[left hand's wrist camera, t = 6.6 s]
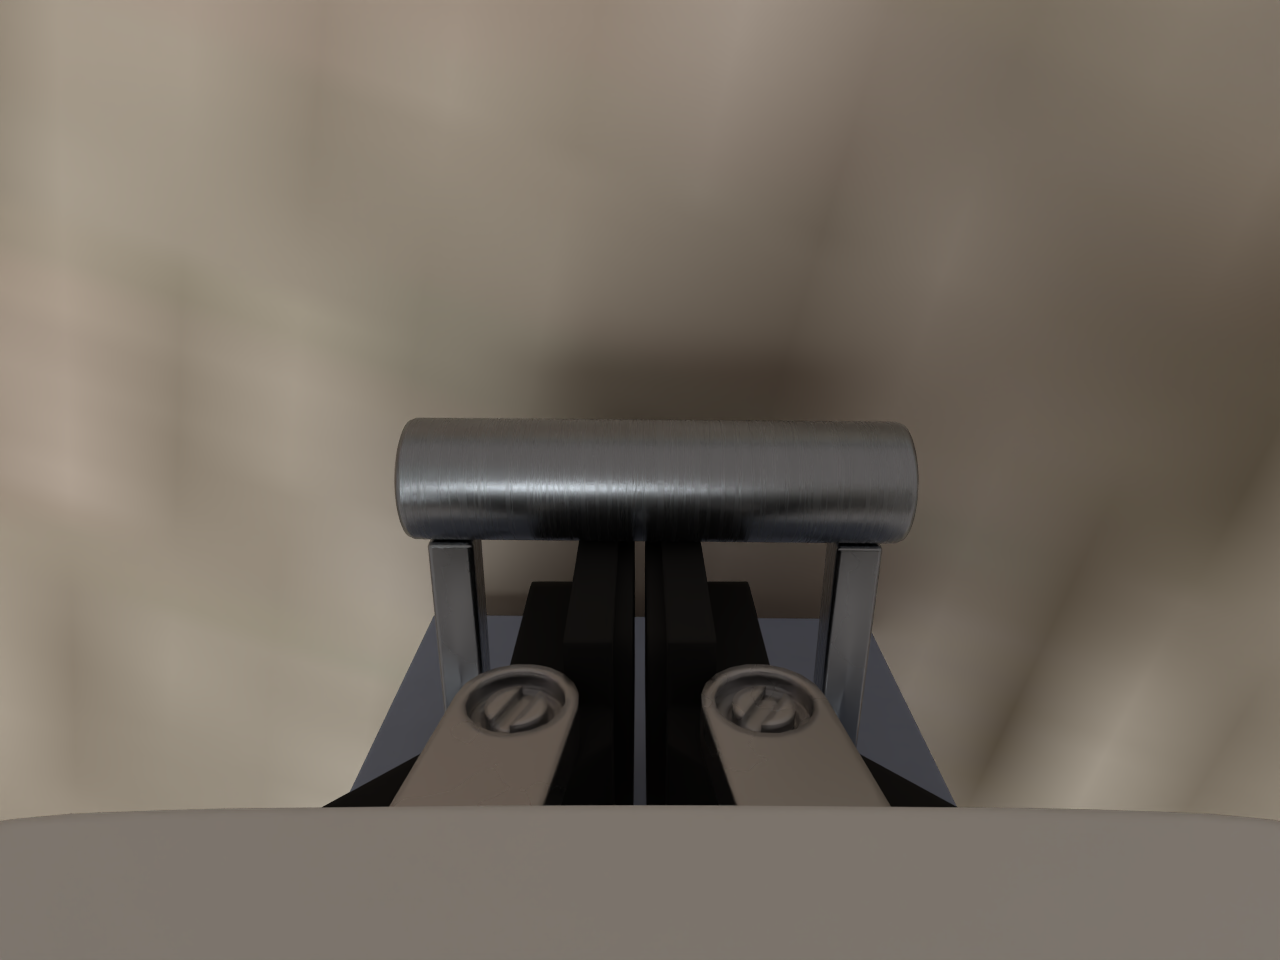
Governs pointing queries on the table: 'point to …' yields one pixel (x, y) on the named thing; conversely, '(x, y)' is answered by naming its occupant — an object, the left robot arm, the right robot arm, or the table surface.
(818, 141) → the table surface
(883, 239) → the table surface
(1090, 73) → the table surface
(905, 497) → the drawer
